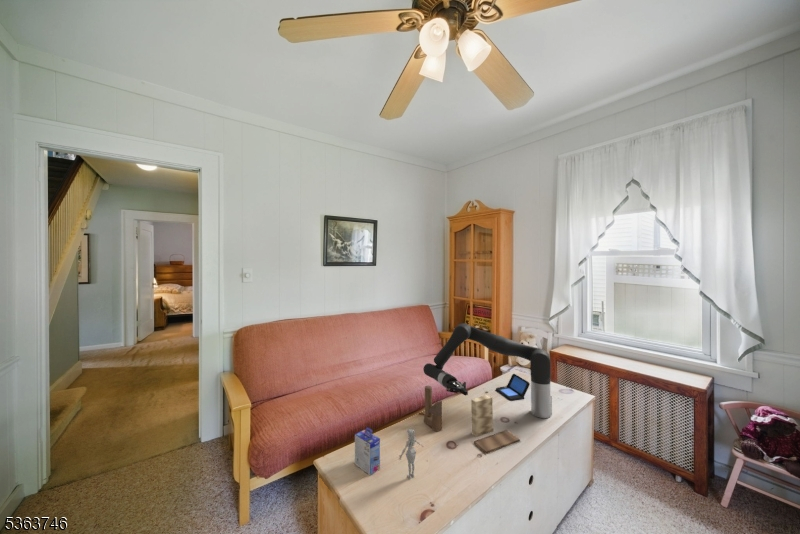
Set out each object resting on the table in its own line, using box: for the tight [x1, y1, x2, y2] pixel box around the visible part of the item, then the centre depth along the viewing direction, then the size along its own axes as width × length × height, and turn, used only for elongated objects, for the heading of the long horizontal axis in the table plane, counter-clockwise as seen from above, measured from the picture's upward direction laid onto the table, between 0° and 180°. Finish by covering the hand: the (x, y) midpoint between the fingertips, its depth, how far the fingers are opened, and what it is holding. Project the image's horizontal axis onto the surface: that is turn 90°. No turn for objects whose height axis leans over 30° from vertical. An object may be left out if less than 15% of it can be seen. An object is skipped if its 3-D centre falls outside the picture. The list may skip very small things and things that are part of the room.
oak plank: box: [470, 394, 494, 438], centre depth 137 cm, size 10×3×16 cm, turn 115°
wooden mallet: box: [423, 385, 443, 432], centre depth 143 cm, size 4×11×18 cm, turn 30°
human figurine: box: [398, 428, 424, 480], centre depth 109 cm, size 12×4×18 cm, turn 128°
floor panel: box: [473, 429, 521, 455], centre depth 129 cm, size 19×8×1 cm, turn 115°
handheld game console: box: [495, 373, 531, 402], centre depth 175 cm, size 16×13×9 cm
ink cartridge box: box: [354, 427, 381, 476], centre depth 115 cm, size 10×6×14 cm, turn 47°
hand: (466, 393), depth 147 cm, fingers closed
